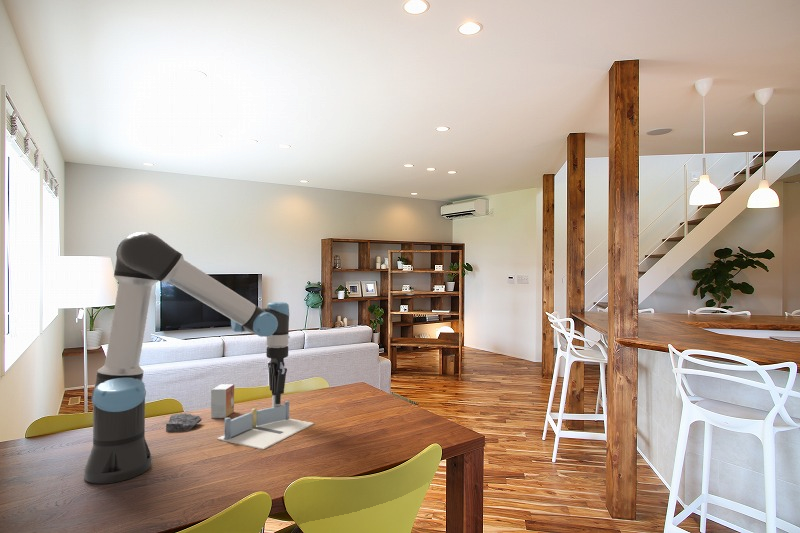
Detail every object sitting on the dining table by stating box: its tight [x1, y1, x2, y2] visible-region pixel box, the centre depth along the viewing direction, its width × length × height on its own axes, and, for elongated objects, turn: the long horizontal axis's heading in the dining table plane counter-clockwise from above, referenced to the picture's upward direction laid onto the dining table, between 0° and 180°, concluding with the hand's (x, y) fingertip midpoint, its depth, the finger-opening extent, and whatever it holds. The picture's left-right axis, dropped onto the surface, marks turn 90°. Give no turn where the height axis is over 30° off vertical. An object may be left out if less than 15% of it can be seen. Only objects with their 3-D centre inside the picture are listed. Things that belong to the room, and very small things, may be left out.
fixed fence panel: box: [224, 412, 252, 440], centre depth 143 cm, size 11×2×7 cm, turn 155°
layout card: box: [216, 418, 314, 451], centre depth 147 cm, size 25×19×1 cm
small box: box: [210, 383, 235, 419], centre depth 164 cm, size 8×6×10 cm
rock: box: [165, 413, 203, 433], centre depth 151 cm, size 8×10×4 cm
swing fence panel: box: [251, 400, 290, 427], centre depth 154 cm, size 14×2×6 cm, turn 131°
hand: (276, 412), depth 156 cm, fingers closed
